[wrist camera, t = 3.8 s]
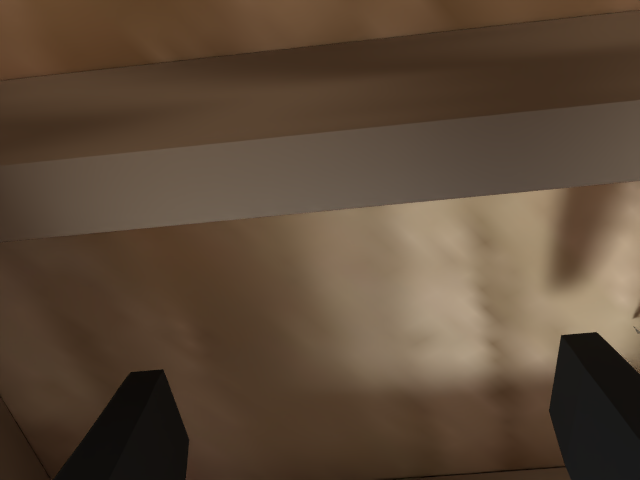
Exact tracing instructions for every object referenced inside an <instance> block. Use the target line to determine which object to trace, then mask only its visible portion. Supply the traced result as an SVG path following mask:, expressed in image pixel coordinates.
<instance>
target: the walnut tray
mask: <svg viewBox="0 0 640 480" xmlns="http://www.w3.org/2000/svg"><path fill="white" fill-rule="evenodd" d="M631 181H640V10H637V11H628V12H619V13H610V14H601V15H592V16H583V17H574V18H565V19H556V20H547V21H538V22H529V23H520V24H511V25H501V26H492V27H483V28H474V29H465V30H456V31H447V32H438V33H429V34H420V35H411V36H402V37H393V38H384V39H375V40H365V41H356V42H347V43H338V44H329V45H320V46H311V47H302V48H293V49H284V50H275V51H266V52H257V53H248V54H239V55H229V56H220V57H211V58H202V59H193V60H184V61H175V62H166V63H157V64H148V65H139V66H130V67H121V68H112V69H103V70H94V71H84V72H75V73H66V74H57V75H48V76H39V77H30V78H21V79H12V80H3V81H0V242H8V241H18V240H28V239H39V238H49V237H60V236H70V235H80V234H91V233H101V232H112V231H122V230H132V229H143V228H153V227H164V226H174V225H184V224H195V223H205V222H216V221H226V220H236V219H247V218H257V217H268V216H278V215H288V214H299V213H309V212H320V211H330V210H340V209H351V208H361V207H372V206H382V205H392V204H403V203H413V202H424V201H434V200H444V199H455V198H465V197H476V196H486V195H496V194H507V193H517V192H528V191H538V190H548V189H559V188H569V187H579V186H590V185H600V184H611V183H621V182H631ZM0 480H50V478H49V477H48V475H47V473H46V472H45V470H44V468H43V467H42V465H41V463H40V462H39V460H38V458H37V457H36V455H35V453H34V452H33V450H32V448H31V447H30V445H29V444H28V442H27V440H26V439H25V437H24V435H23V434H22V432H21V430H20V429H19V427H18V425H17V424H16V422H15V420H14V419H13V417H12V415H11V414H10V412H9V411H8V409H7V407H6V406H5V404H4V402H3V401H2V399H1V397H0ZM398 480H571V478H570V476H569V474H568V471H567V469H566V467H563V468H549V469H535V470H522V471H508V472H494V473H481V474H467V475H453V476H439V477H426V478H412V479H398Z"/></svg>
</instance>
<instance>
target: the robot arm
mask: <svg viewBox="0 0 640 480" xmlns="http://www.w3.org/2000/svg"><path fill="white" fill-rule="evenodd" d="M549 412H550V416H551V419H552V423H553V426H554V430H555V434H556V437H557V441H558V444H559V447H560V450H561V454H562V457H563V460H564V463H565V466H566V469H567V471H568V474H569V476H570V478H571V480H640V374H639V373H638V372H637V371H636V370H635V369H634V368H633V367H632V366H631V365H630V364H629V363H628V362H627V361H626V360H625V359H624V358H623V357H622V356H621V355H620V354H619V353H618V352H617V351H616V350H615V349H614V348H613V347H612V346H611V345H610V344H609V343H608V342H607V341H606V340H604V339H603V338H602V337H601V336H600V335H599V334H598V333H597V332H593V333H581V334H570V335H561V340H560V346H559V352H558V359H557V365H556V371H555V377H554V384H553V390H552V396H551V402H550V409H549ZM188 447H189V438H188V435H187V432H186V430H185V427H184V424H183V421H182V419H181V416H180V413H179V411H178V408H177V405H176V402H175V400H174V397H173V394H172V392H171V389H170V386H169V383H168V381H167V378H166V375H165V373H164V370H163V369H162V370H150V371H139V372H131V373H130V374H129V375H128V376H127V377H126V379H125V380H124V382H123V383H122V385H121V386H120V387H119V389H118V390H117V392H116V393H115V395H114V396H113V397H112V399H111V400H110V402H109V403H108V405H107V406H106V408H105V409H104V410H103V412H102V413H101V415H100V416H99V418H98V419H97V420H96V422H95V423H94V425H93V426H92V427H91V429H90V430H89V432H88V433H87V434H86V436H85V437H84V439H83V440H82V441H81V443H80V444H79V445H78V447H77V448H76V450H75V451H74V452H73V454H72V455H71V456H70V458H69V459H68V460H67V462H66V463H65V464H64V466H63V467H62V468H61V470H60V471H59V472H58V474H57V475H56V476H55V478H54V479H53V480H185V478H186V470H187V459H188Z"/></svg>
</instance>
